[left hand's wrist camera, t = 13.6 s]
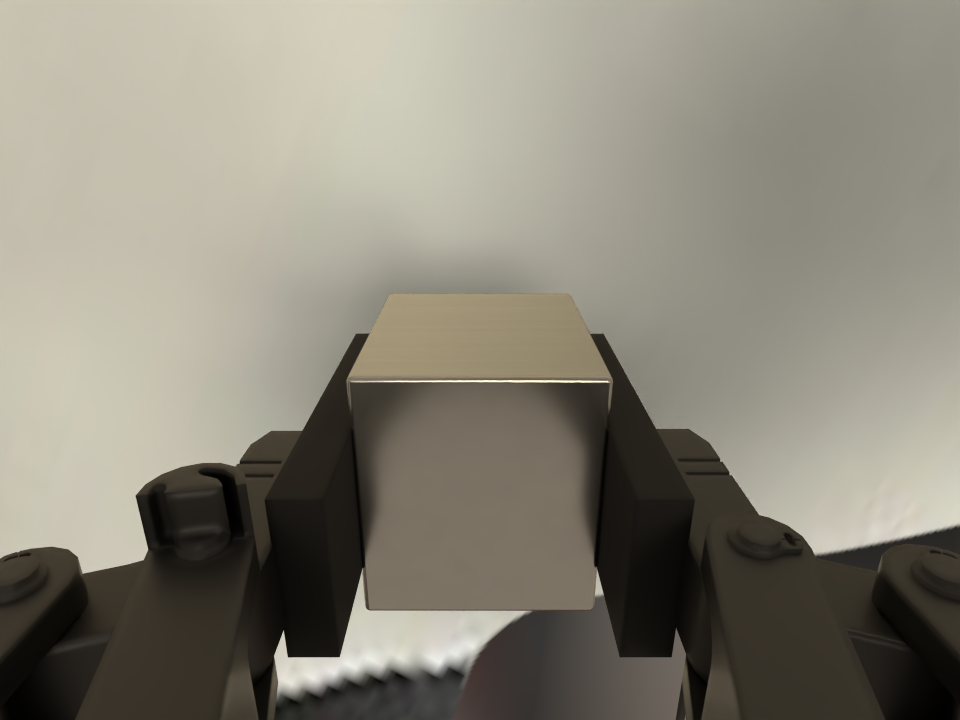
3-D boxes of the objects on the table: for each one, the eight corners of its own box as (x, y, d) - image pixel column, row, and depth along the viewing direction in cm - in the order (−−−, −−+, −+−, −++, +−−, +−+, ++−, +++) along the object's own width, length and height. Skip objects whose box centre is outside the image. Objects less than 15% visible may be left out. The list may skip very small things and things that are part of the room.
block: (571, 292, 14) (614, 377, 10) (561, 469, 16) (594, 613, 11) (388, 292, 14) (345, 377, 10) (397, 468, 16) (364, 612, 11)
